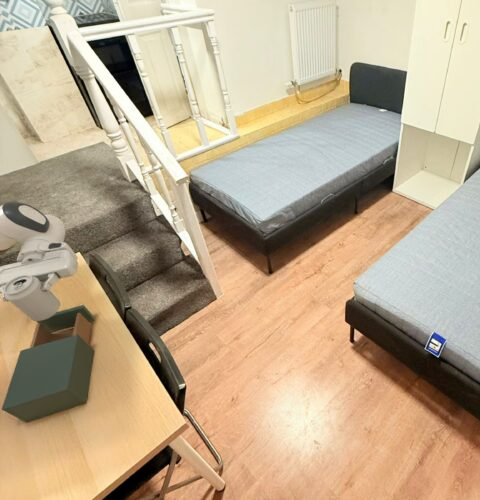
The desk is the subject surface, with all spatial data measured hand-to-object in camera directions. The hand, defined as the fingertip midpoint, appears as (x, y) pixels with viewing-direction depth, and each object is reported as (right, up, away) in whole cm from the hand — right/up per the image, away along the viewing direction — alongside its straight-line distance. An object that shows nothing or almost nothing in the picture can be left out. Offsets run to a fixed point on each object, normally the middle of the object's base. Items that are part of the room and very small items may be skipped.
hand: (26, 294), depth 85 cm
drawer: (+2, -15, +11) cm, 19 cm away
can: (0, -6, +7) cm, 9 cm away
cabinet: (+7, -24, +4) cm, 25 cm away
